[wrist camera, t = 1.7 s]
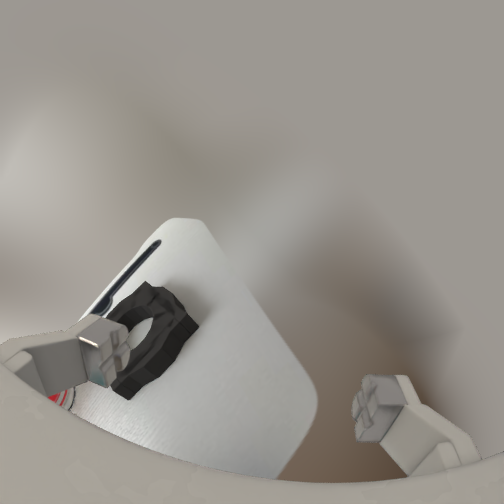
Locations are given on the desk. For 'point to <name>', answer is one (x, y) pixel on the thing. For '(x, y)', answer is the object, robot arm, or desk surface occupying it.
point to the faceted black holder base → (151, 335)
